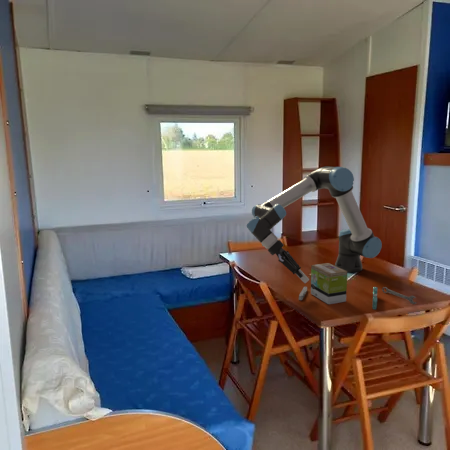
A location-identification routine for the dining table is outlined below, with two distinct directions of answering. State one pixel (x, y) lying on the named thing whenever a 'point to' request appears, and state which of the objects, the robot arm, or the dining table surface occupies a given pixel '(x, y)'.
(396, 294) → the combination wrench
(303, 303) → the dining table surface
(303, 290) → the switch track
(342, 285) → the tea box
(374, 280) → the dining table surface
